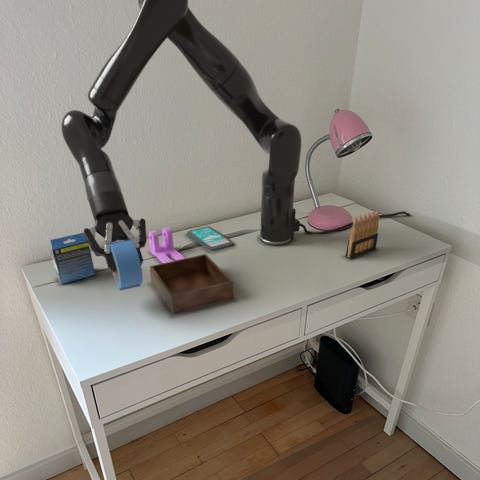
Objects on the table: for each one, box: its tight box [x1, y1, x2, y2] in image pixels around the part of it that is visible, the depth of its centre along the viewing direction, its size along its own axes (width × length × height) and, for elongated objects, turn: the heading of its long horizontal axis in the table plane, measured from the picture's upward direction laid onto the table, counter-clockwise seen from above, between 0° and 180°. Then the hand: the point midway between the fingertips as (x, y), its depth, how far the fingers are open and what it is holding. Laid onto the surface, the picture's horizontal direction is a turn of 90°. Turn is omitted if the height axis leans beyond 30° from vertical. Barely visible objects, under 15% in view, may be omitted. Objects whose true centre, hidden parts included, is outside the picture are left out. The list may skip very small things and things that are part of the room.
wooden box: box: [149, 253, 234, 315], centre depth 112 cm, size 15×16×5 cm
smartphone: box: [186, 226, 234, 252], centre depth 138 cm, size 9×1×15 cm
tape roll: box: [109, 240, 143, 291], centre depth 102 cm, size 5×10×10 cm, turn 27°
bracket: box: [148, 226, 186, 263], centre depth 126 cm, size 13×6×7 cm, turn 33°
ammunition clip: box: [345, 209, 380, 260], centre depth 128 cm, size 11×2×12 cm, turn 126°
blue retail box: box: [50, 232, 96, 285], centre depth 116 cm, size 9×4×12 cm, turn 123°
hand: (127, 268), depth 101 cm, fingers closed on tape roll, 5 cm apart
